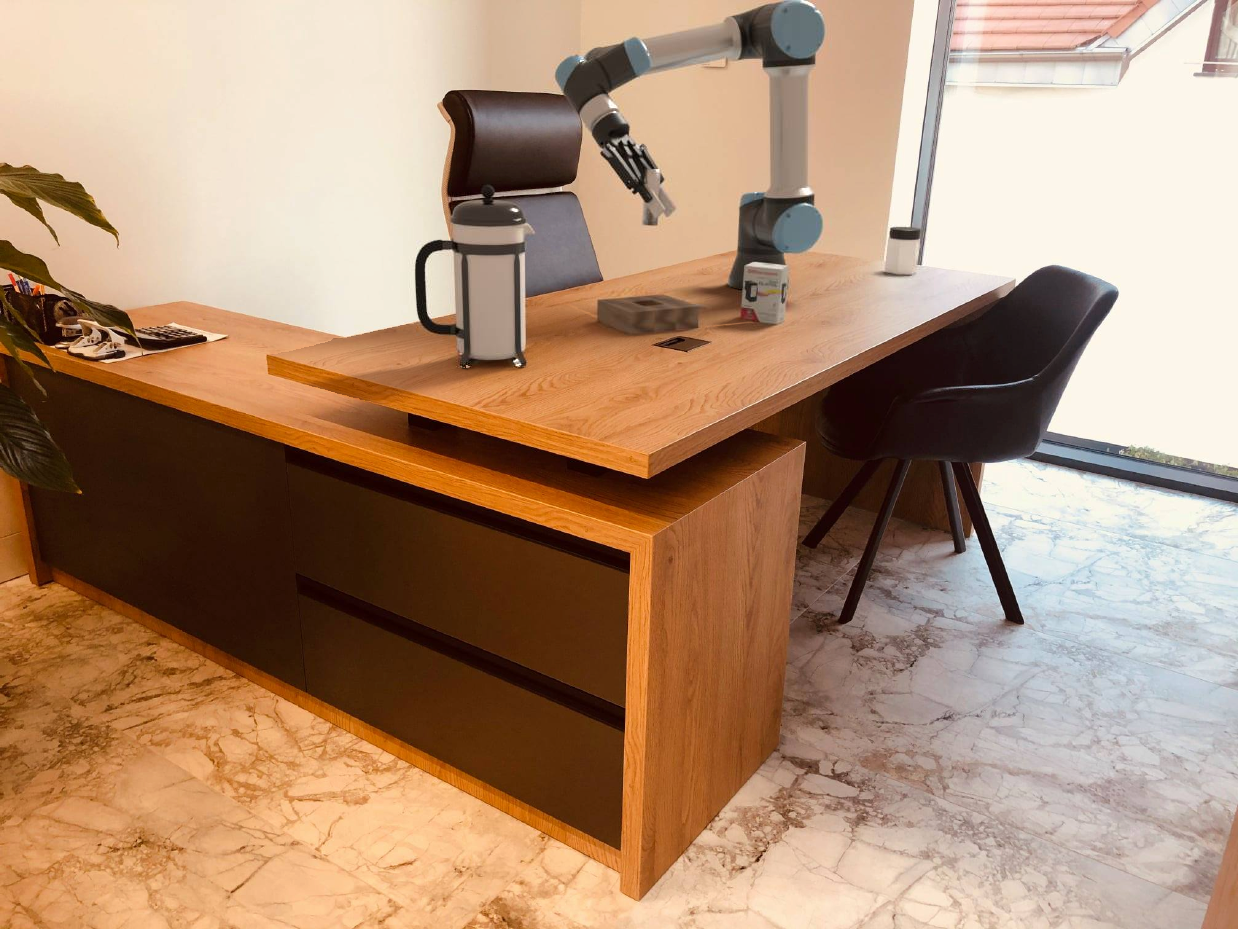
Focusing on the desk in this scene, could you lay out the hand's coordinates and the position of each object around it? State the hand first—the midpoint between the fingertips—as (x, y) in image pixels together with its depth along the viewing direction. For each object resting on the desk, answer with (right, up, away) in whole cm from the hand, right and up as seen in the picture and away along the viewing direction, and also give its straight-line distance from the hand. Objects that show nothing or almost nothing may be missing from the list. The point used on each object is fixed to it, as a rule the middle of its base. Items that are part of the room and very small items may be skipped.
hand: (666, 212), depth 206 cm
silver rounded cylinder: (-3, -2, +3) cm, 5 cm away
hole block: (-4, -22, +3) cm, 23 cm away
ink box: (+21, -21, +10) cm, 31 cm away
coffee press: (-33, -34, -29) cm, 55 cm away
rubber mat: (+2, -16, +20) cm, 26 cm away
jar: (+69, +2, +74) cm, 101 cm away
